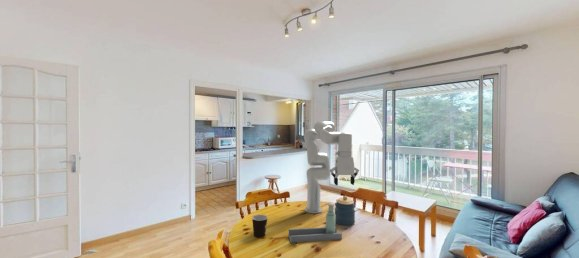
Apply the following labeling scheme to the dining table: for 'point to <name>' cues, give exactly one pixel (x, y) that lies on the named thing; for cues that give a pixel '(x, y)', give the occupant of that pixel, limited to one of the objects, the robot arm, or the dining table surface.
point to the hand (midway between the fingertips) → (344, 184)
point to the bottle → (330, 219)
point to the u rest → (312, 235)
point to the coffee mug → (259, 225)
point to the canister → (345, 211)
